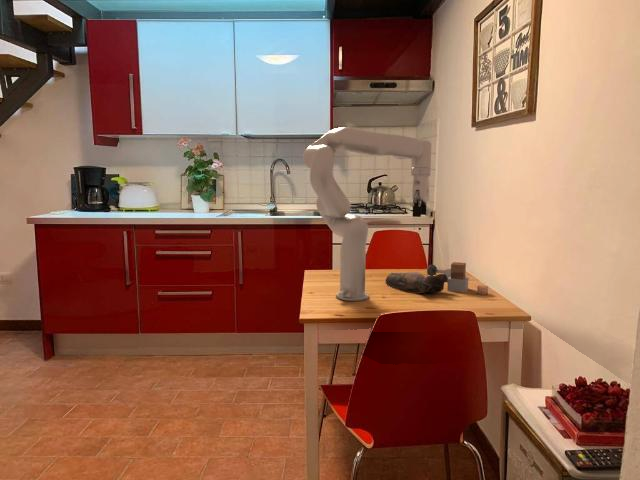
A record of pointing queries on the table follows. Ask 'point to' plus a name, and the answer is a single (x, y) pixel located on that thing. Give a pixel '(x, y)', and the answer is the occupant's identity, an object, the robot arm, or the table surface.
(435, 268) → the headphones
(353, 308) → the table surface
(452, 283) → the grey block
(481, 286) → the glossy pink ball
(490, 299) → the table surface
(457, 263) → the brown metal block
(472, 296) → the table surface
